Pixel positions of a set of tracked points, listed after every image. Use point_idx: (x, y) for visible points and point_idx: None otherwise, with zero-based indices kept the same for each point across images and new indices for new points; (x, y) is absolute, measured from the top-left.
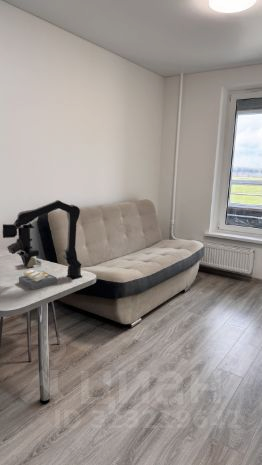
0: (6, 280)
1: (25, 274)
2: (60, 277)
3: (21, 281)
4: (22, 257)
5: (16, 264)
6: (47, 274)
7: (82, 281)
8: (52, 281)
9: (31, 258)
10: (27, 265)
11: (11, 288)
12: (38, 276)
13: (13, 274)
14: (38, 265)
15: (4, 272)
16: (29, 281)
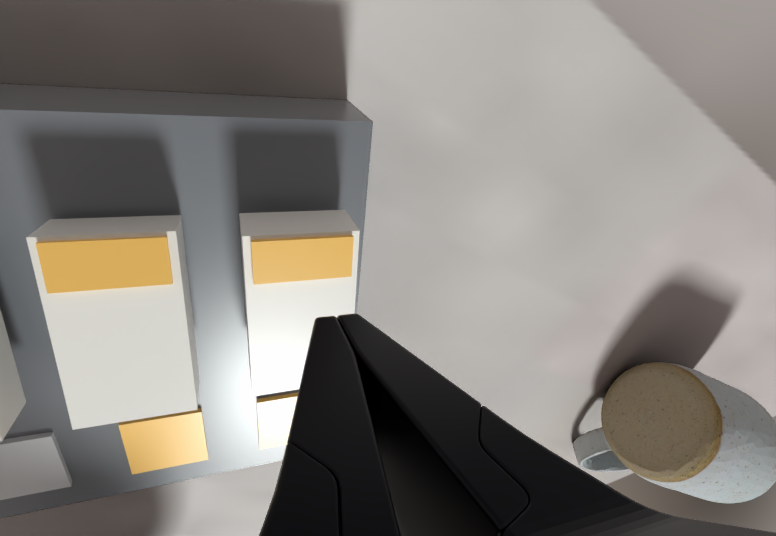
0: (548, 5)
1: (286, 223)
2: (177, 509)
3: (268, 103)
4: (486, 526)
5: (749, 318)
6: (168, 465)
7: None
8: None
9: (669, 458)
10: (642, 375)
11: None
12: None
13: (620, 191)
14: (579, 437)
15: (737, 146)
16: None
